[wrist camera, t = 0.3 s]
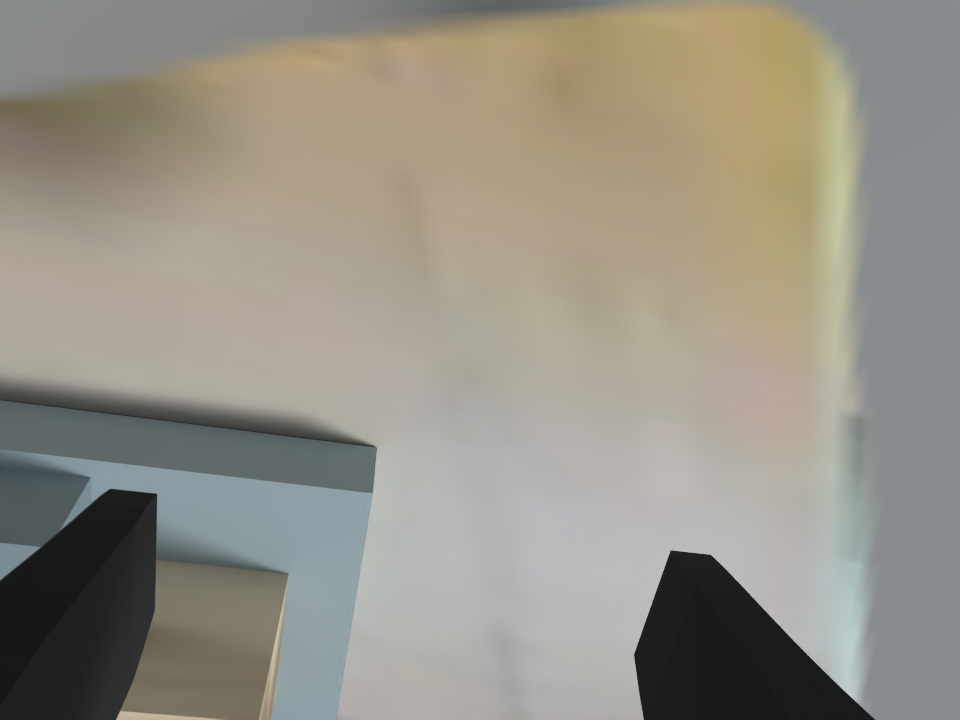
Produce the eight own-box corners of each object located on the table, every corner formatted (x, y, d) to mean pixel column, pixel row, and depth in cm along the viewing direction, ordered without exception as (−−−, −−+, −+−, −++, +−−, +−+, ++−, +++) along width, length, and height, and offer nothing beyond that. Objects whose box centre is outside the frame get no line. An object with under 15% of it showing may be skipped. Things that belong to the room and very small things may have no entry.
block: (274, 699, 24) (244, 858, 20) (104, 684, 23) (37, 845, 19) (289, 573, 22) (258, 722, 18) (102, 553, 21) (28, 703, 17)
